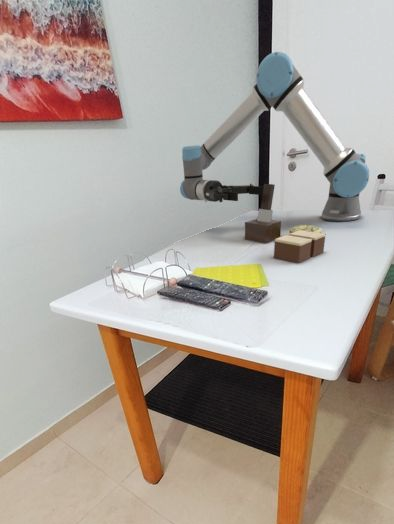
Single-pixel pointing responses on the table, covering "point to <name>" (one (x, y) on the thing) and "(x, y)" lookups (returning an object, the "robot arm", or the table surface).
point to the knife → (266, 204)
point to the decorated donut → (305, 228)
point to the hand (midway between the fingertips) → (250, 193)
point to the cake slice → (292, 248)
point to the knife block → (262, 231)
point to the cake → (316, 242)
